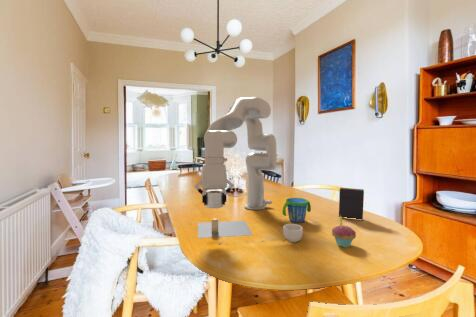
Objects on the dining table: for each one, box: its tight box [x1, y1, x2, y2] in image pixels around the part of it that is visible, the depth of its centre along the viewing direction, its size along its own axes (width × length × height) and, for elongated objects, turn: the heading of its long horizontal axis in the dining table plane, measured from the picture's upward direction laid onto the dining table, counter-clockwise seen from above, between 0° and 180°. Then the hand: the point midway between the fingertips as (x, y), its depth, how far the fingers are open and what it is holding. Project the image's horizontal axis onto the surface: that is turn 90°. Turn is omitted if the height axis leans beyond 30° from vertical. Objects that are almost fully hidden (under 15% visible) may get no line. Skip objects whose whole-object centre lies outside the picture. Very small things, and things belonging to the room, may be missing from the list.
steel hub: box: [205, 189, 224, 209], centre depth 108 cm, size 7×7×6 cm
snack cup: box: [282, 197, 312, 223], centre depth 129 cm, size 16×10×10 cm
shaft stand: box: [197, 217, 254, 239], centre depth 114 cm, size 22×18×7 cm
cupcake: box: [331, 215, 357, 248], centre depth 100 cm, size 9×8×12 cm
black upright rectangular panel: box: [338, 187, 365, 220], centre depth 132 cm, size 11×4×15 cm, turn 65°
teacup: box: [282, 223, 304, 243], centre depth 106 cm, size 10×8×5 cm
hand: (214, 203), depth 108 cm, fingers closed on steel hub, 7 cm apart
